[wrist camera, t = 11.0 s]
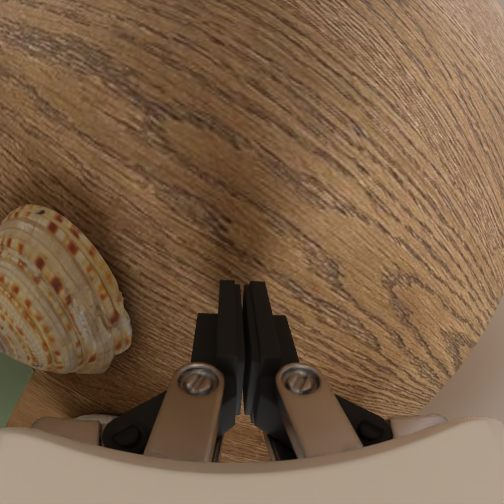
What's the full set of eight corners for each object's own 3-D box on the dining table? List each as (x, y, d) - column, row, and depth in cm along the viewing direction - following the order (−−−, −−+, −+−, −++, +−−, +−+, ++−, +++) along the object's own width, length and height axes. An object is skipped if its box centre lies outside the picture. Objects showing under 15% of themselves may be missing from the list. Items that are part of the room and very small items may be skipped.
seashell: (134, 404, 11) (-10, 394, 7) (119, 328, 15) (5, 319, 11) (148, 256, 8) (-65, 236, 4) (134, 200, 12) (-9, 186, 8)
